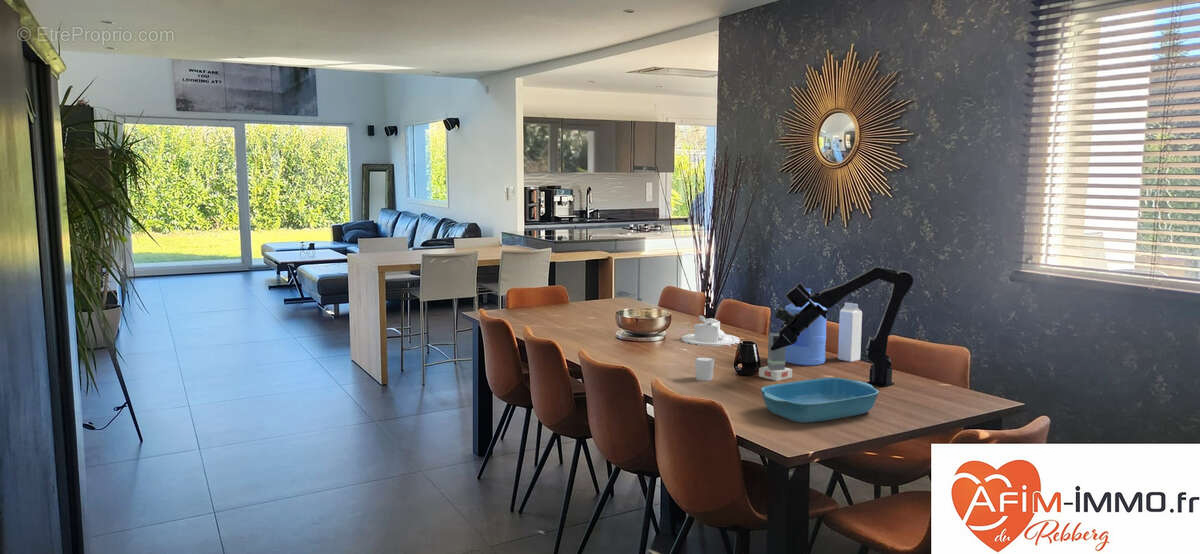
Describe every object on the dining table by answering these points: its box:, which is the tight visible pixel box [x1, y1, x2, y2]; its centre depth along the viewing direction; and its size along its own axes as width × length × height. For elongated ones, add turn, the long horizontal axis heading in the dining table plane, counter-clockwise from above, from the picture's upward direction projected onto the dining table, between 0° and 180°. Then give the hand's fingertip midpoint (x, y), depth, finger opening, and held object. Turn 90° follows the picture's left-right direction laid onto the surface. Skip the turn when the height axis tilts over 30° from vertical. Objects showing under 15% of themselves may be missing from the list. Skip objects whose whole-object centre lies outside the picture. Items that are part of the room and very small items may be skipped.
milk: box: [837, 302, 863, 363], centre depth 312 cm, size 6×6×22 cm
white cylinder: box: [694, 356, 715, 382], centre depth 281 cm, size 7×7×7 cm
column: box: [767, 333, 786, 370], centre depth 284 cm, size 5×5×12 cm
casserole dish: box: [760, 377, 880, 424], centre depth 242 cm, size 37×22×7 cm, turn 116°
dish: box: [681, 315, 741, 347], centre depth 350 cm, size 25×25×11 cm
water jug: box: [784, 287, 828, 367], centre depth 308 cm, size 16×16×28 cm
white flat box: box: [758, 365, 793, 382], centre depth 285 cm, size 8×8×3 cm
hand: (772, 347), depth 284 cm, fingers open, 9 cm apart
